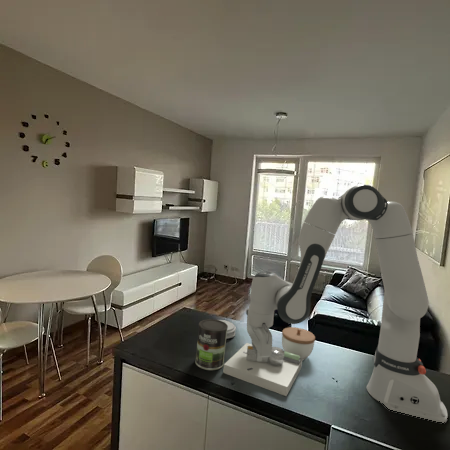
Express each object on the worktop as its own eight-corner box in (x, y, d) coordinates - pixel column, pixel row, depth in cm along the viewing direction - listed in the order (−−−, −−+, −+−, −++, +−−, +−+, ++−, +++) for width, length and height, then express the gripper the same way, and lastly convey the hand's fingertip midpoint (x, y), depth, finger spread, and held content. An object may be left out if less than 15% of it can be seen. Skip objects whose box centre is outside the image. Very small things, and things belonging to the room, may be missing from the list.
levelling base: (301, 368, 115) (303, 353, 115) (286, 396, 97) (288, 379, 97) (246, 350, 125) (247, 337, 125) (223, 372, 107) (224, 357, 107)
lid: (227, 343, 129) (228, 332, 129) (200, 335, 135) (202, 324, 134) (239, 333, 141) (240, 322, 140) (214, 325, 146) (215, 315, 146)
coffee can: (217, 373, 106) (221, 333, 105) (190, 365, 110) (193, 326, 109) (227, 360, 116) (231, 322, 115) (202, 352, 119) (205, 316, 118)
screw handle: (282, 358, 114) (283, 347, 114) (284, 367, 108) (285, 355, 108) (246, 354, 115) (247, 343, 115) (246, 362, 109) (247, 351, 109)
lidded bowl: (282, 345, 132) (285, 320, 131) (313, 353, 128) (316, 327, 127) (277, 359, 120) (280, 331, 119) (311, 367, 116) (314, 339, 115)
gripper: (278, 331, 100) (274, 372, 101) (261, 308, 120) (257, 343, 121) (259, 330, 99) (255, 372, 100) (245, 307, 119) (241, 342, 120)
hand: (256, 356), depth 111 cm, fingers open, 4 cm apart
